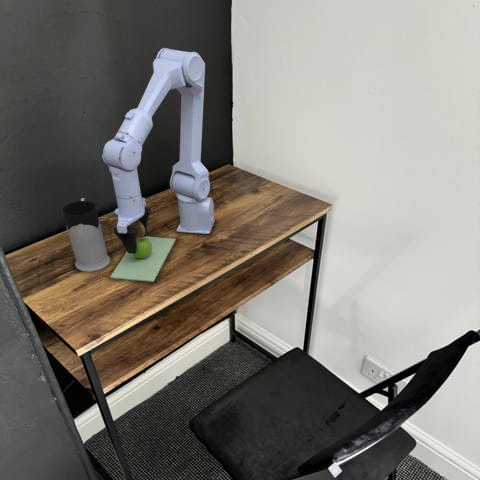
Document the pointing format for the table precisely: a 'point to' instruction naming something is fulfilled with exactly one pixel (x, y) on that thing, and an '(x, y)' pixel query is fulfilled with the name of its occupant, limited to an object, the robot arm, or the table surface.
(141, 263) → the desk pad
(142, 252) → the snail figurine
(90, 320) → the table surface
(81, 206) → the glass holder
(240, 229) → the table surface
